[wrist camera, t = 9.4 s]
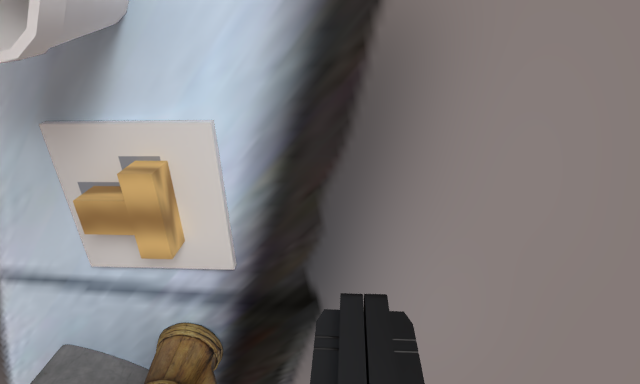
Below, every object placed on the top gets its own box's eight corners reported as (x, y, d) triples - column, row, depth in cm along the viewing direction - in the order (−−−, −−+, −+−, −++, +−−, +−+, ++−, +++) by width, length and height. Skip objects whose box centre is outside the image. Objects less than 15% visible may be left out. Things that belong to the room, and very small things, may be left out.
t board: (45, 121, 39) (38, 124, 38) (214, 120, 38) (210, 122, 37) (96, 261, 47) (91, 266, 46) (236, 264, 46) (234, 269, 45)
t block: (85, 160, 40) (62, 173, 37) (167, 160, 39) (151, 174, 36) (110, 239, 44) (92, 257, 41) (185, 241, 44) (172, 259, 41)
